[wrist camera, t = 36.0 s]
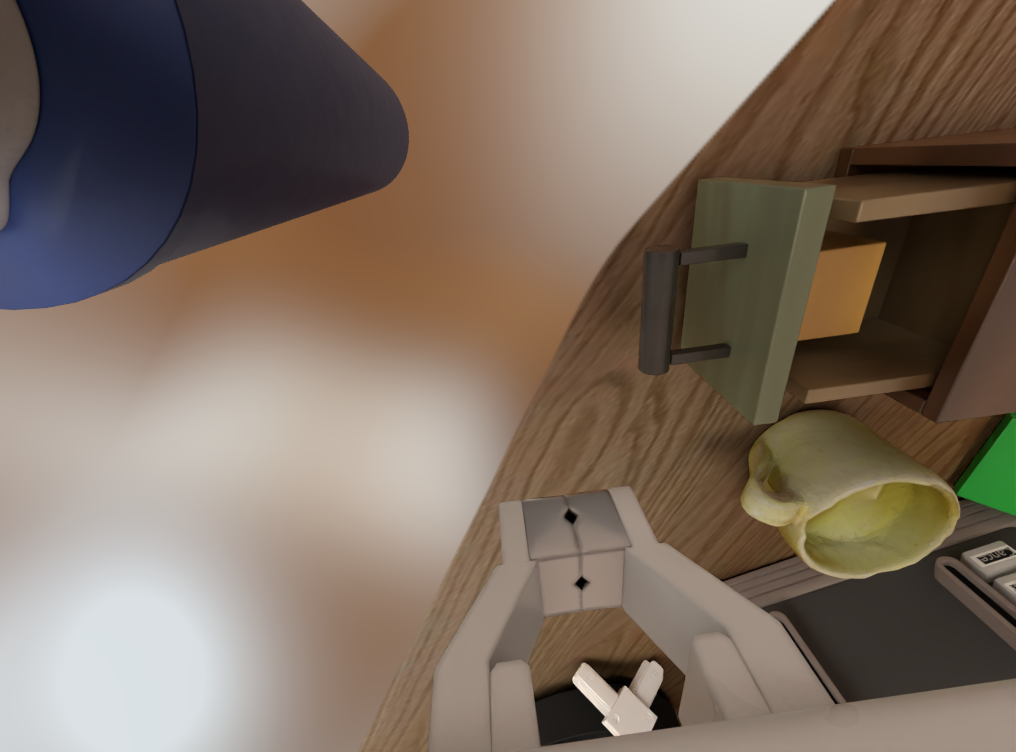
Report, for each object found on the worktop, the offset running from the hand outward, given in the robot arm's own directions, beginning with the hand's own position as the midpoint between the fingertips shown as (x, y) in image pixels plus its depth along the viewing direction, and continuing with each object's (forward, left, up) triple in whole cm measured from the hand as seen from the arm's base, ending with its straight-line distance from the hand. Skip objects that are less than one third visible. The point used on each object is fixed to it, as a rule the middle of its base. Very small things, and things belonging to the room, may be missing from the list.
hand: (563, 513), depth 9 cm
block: (+15, 0, -15) cm, 21 cm away
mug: (+20, -15, -17) cm, 30 cm away
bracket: (+41, -18, -12) cm, 46 cm away
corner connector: (+7, -43, -15) cm, 46 cm away
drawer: (+15, 0, -16) cm, 22 cm away
